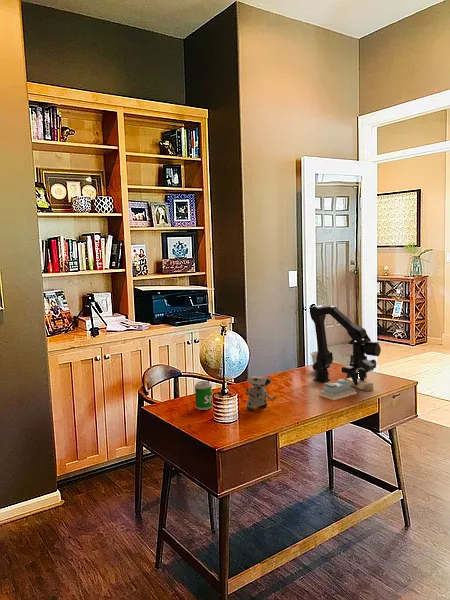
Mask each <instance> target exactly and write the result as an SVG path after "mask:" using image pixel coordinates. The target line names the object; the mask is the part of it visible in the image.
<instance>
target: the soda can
mask: <svg viewBox="0 0 450 600" xmlns="http://www.w3.org/2000/svg"><path fill="white" fill-rule="evenodd" d="M212 386H213V385H212V384H211V383H210V381H207V380H201V381H198V382H196V384H195V385H194V395H195V397H194V398H195V408H196V409H197V410H198V409H199V410H198V411H200V410H207V411H209V410H208V409H210V408H212V407H213V389H212ZM210 410H211V409H210Z"/></svg>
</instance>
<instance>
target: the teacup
mask: <svg viewBox="0 0 450 600" xmlns="http://www.w3.org/2000/svg"><path fill="white" fill-rule="evenodd" d="M317 353H318V350H317V351H312V352H311V353H310V356H311V359H312V366H313V365H314V364H315V363H316V358H317Z"/></svg>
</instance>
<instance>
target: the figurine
mask: <svg viewBox="0 0 450 600" xmlns="http://www.w3.org/2000/svg"><path fill="white" fill-rule="evenodd" d="M246 382H247V383H249V384H250V385H251V386H249V387H246V389H245V391H246V392H245V396H248V399H247V402H246V410H247V409H248V410H247V411H251V412H252V411H253V412H255V411H256V408H255V407H263V408H267V407H268V404H267V403H268V402H267V399H268V400H270V401H271V402H274V401H275V400H277V396H276V395H275V396H274V397H271V396H270V395H269V394H268V393H267V391H268V390H267V389H266V388H265V387H268V386H270V384H272V379H271V378H270V377H269V376H254V375H252V376H249V377H248V378H247V379H246Z"/></svg>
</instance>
